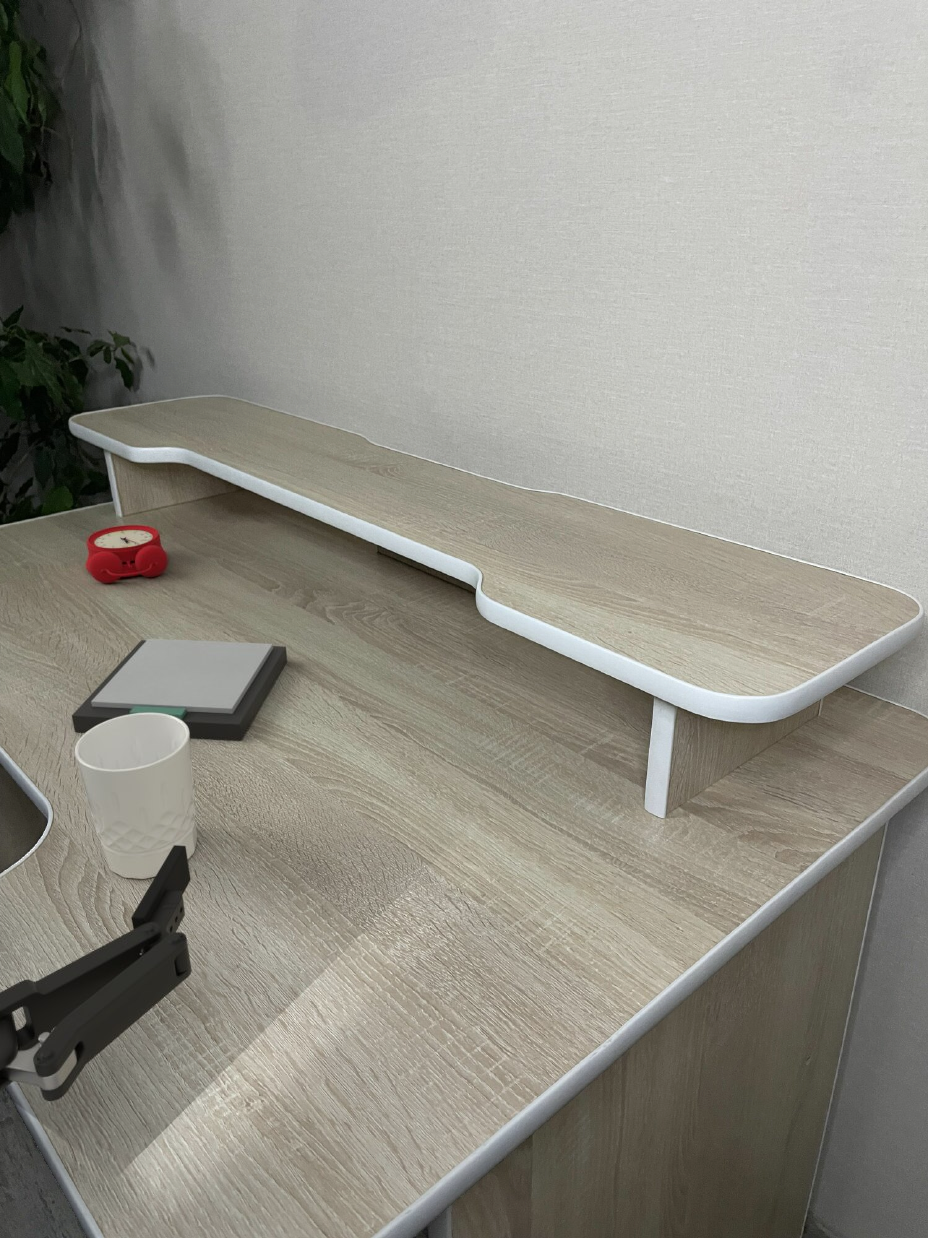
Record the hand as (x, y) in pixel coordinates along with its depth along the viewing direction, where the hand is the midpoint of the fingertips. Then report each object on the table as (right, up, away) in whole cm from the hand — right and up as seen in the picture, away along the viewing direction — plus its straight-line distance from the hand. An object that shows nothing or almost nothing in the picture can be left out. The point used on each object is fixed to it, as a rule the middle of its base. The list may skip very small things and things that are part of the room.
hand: (80, 855), depth 60 cm
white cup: (+1, -3, +12) cm, 12 cm away
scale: (-3, +8, +34) cm, 35 cm away
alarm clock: (-20, +22, +64) cm, 71 cm away
